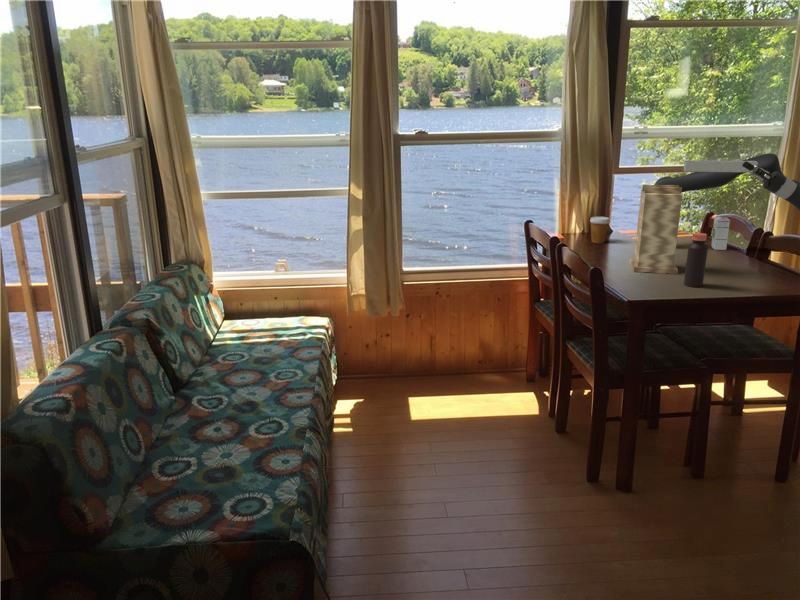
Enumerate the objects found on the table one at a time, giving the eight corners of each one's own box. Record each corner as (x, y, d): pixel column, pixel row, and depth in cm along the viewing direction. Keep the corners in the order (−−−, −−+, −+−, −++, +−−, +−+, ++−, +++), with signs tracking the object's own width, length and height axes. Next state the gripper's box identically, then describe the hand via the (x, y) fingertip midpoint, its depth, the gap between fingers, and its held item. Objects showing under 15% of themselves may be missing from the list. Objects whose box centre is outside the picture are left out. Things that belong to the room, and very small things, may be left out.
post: (670, 264, 284) (680, 184, 273) (677, 274, 270) (688, 189, 259) (629, 263, 287) (637, 183, 277) (633, 272, 273) (642, 188, 263)
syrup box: (726, 250, 309) (731, 219, 305) (713, 249, 310) (717, 219, 306) (723, 247, 315) (727, 217, 310) (710, 246, 316) (714, 216, 311)
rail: (753, 171, 261) (754, 160, 260) (756, 172, 258) (757, 161, 257) (683, 170, 266) (684, 160, 265) (685, 171, 263) (686, 161, 262)
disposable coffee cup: (610, 244, 323) (612, 219, 319) (591, 244, 323) (593, 219, 319) (605, 239, 332) (607, 216, 328) (586, 239, 332) (587, 216, 329)
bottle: (687, 287, 251) (694, 236, 245) (680, 282, 258) (687, 232, 252) (705, 287, 251) (712, 235, 245) (698, 282, 258) (705, 232, 252)
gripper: (780, 174, 265) (743, 152, 265) (793, 179, 251) (754, 156, 252) (767, 190, 267) (731, 169, 267) (779, 196, 254) (741, 173, 254)
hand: (742, 162), depth 259 cm, fingers closed on rail, 4 cm apart
